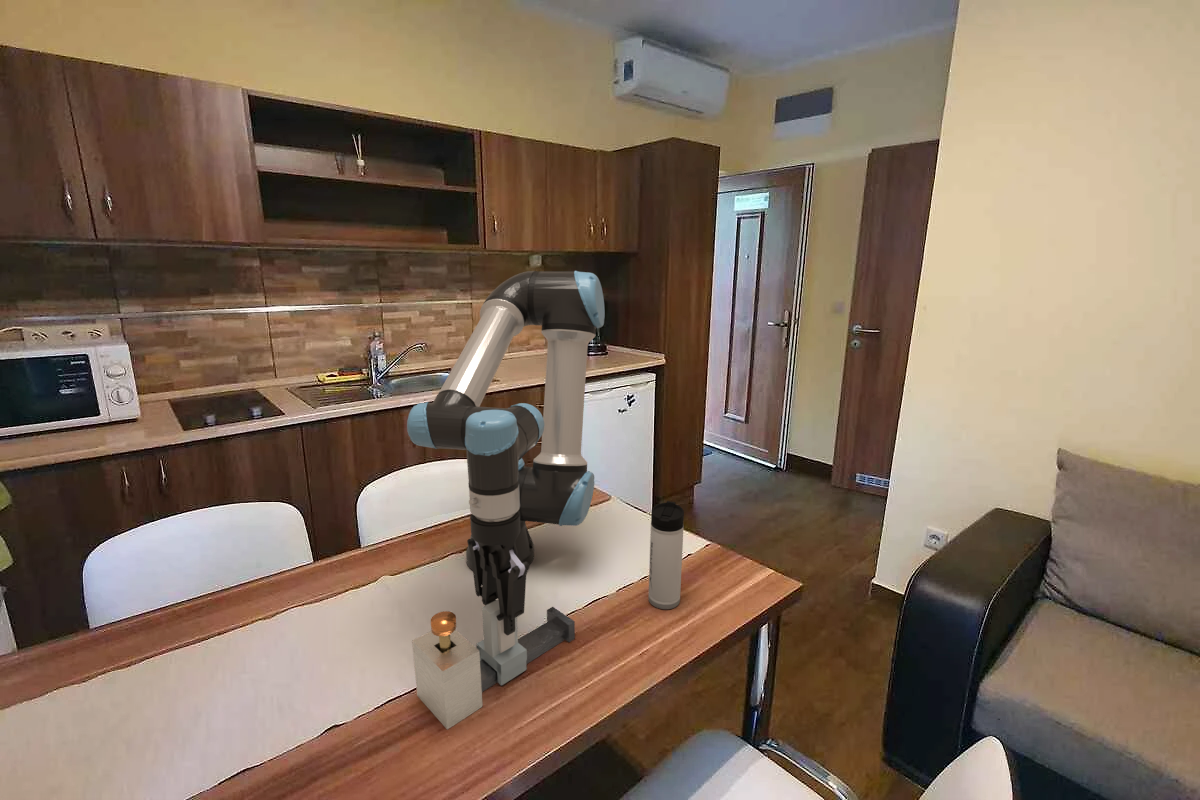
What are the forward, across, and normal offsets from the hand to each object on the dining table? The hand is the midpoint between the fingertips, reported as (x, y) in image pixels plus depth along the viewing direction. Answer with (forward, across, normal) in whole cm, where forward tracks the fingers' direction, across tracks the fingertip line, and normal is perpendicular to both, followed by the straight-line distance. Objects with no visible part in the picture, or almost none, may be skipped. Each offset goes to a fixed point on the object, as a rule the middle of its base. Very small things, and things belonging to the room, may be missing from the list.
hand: (501, 642), depth 91 cm
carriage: (+5, 0, 0) cm, 5 cm away
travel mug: (+5, +7, +34) cm, 35 cm away
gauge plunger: (-1, 0, -10) cm, 10 cm away
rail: (+5, 0, 0) cm, 5 cm away
